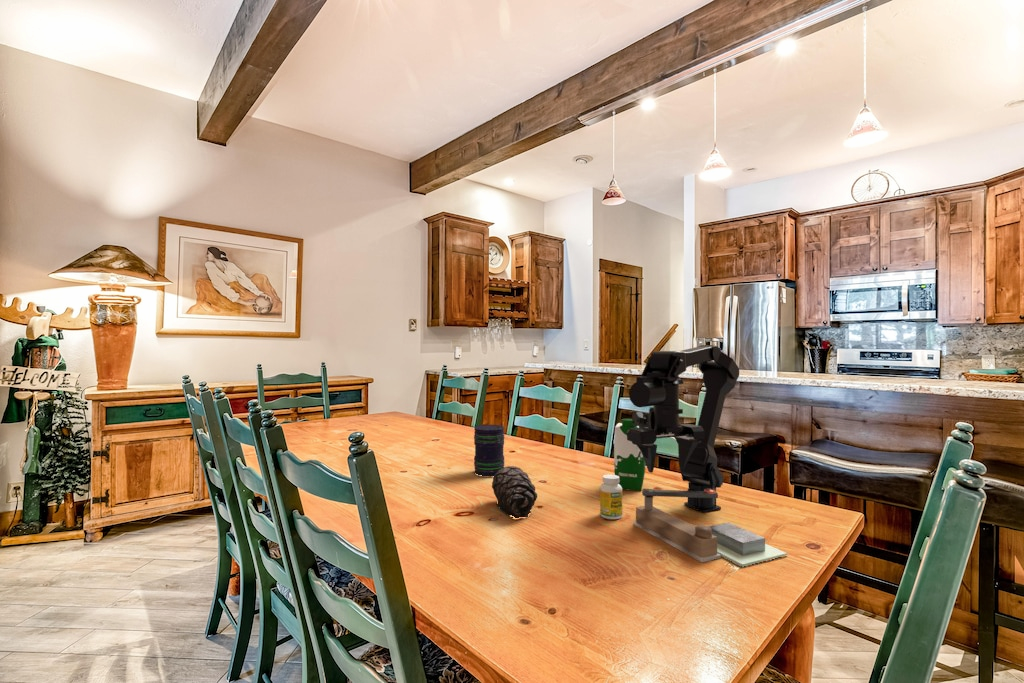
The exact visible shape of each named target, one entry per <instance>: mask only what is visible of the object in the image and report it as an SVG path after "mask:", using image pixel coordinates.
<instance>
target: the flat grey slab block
mask: <svg viewBox="0 0 1024 683" xmlns="http://www.w3.org/2000/svg"><path fill="white" fill-rule="evenodd" d="M707 526H708V527H710V528H712V535H714V536H716V537H717V543H718V544H720V545H722V546H724V547H726V548H728V549H730V550H732V551H734V552H736V553H738V554H740V555H742V556H745V555H749V554H753V553H757V552H762V551H765V544H766V537H764V536H761V535H759V534H756V533H754V532H752V531H750V530H747V529H745V528H742V527H740V526H738V525H736V524H733V523H731V522H725V523H719V524H718V523H717V524H713V525H707Z"/></svg>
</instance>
